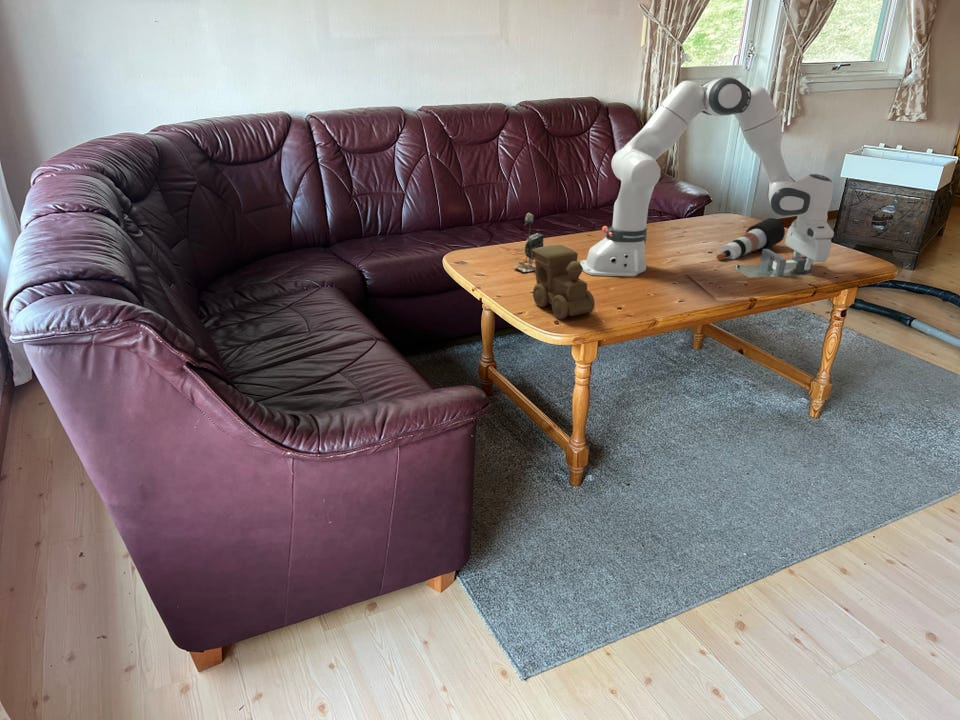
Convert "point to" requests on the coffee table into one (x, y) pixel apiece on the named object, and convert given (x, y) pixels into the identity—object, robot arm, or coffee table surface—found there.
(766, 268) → the housing
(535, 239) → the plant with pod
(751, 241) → the cable
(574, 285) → the wooden toy train
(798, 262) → the plug
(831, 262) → the coffee table surface
